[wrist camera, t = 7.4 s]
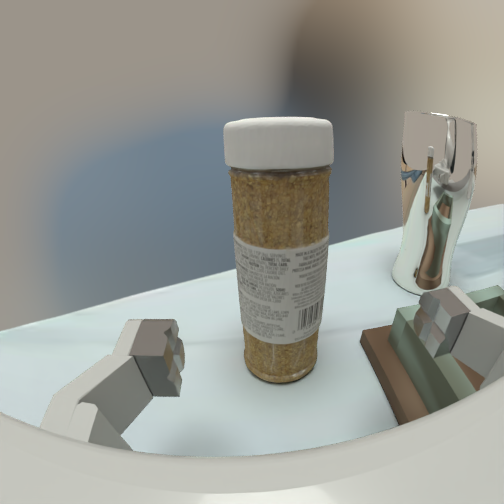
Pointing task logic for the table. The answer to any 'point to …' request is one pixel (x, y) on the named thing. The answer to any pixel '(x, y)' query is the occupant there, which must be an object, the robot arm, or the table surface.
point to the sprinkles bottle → (280, 238)
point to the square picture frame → (422, 363)
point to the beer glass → (433, 196)
